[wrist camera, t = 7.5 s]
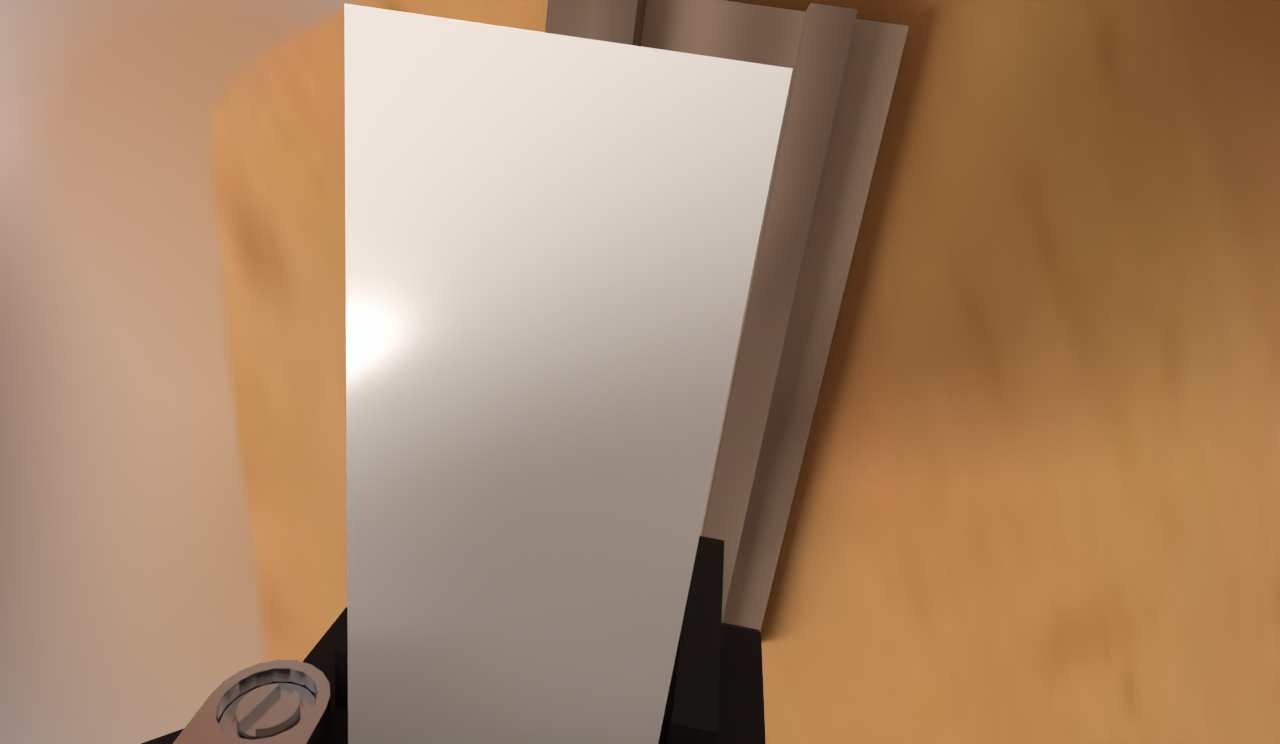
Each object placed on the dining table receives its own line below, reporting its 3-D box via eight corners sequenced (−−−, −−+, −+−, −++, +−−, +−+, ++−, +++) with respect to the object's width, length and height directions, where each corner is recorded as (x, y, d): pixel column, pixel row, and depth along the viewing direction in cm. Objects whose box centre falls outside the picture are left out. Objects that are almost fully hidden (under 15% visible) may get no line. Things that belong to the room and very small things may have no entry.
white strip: (764, 94, 10) (792, 68, 5) (618, 865, 16) (551, 1278, 10) (557, 64, 10) (344, 2, 5) (486, 835, 16) (350, 1222, 10)
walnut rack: (901, 30, 20) (921, 17, 18) (751, 649, 28) (751, 697, 25) (558, -18, 21) (535, -36, 19) (502, 596, 29) (480, 639, 26)
